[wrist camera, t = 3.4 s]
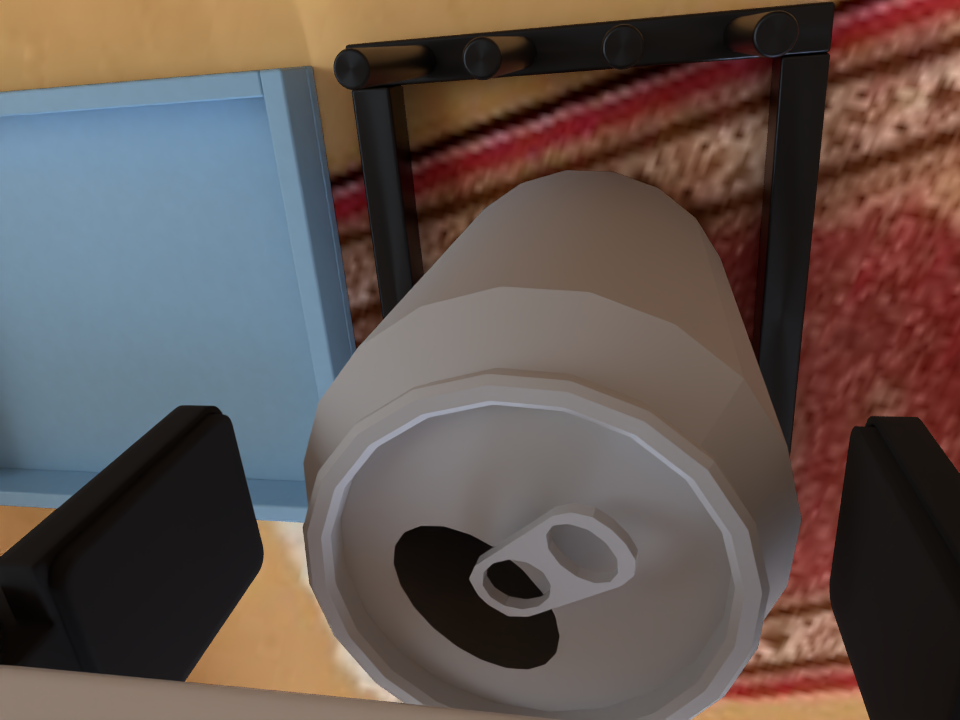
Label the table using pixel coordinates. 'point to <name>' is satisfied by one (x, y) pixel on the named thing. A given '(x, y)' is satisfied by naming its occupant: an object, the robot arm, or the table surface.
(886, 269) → the table surface
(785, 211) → the dish rack
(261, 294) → the tray
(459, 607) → the can
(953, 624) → the robot arm
